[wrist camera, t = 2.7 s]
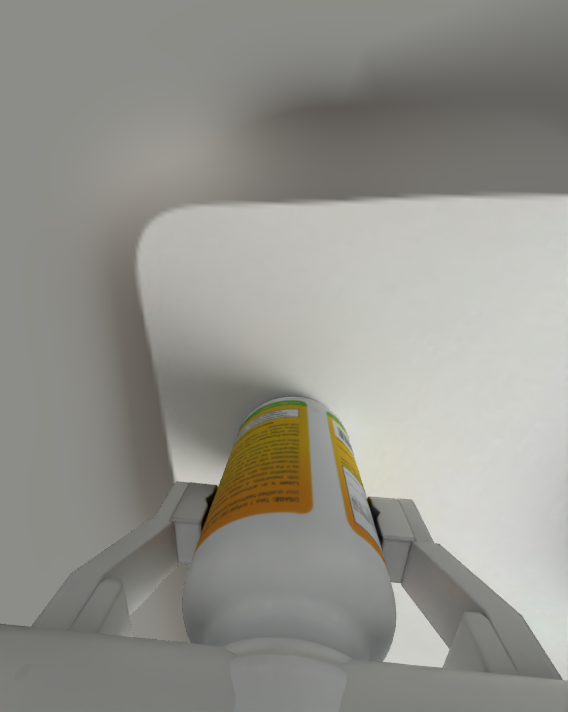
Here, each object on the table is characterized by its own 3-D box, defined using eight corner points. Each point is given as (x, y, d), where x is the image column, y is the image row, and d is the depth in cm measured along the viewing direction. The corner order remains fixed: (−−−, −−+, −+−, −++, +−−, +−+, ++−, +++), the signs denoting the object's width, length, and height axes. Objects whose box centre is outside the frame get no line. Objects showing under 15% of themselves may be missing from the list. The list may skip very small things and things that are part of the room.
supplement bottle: (223, 463, 14) (74, 848, 5) (262, 375, 12) (151, 701, 3) (318, 500, 14) (353, 920, 5) (368, 420, 13) (554, 825, 3)
